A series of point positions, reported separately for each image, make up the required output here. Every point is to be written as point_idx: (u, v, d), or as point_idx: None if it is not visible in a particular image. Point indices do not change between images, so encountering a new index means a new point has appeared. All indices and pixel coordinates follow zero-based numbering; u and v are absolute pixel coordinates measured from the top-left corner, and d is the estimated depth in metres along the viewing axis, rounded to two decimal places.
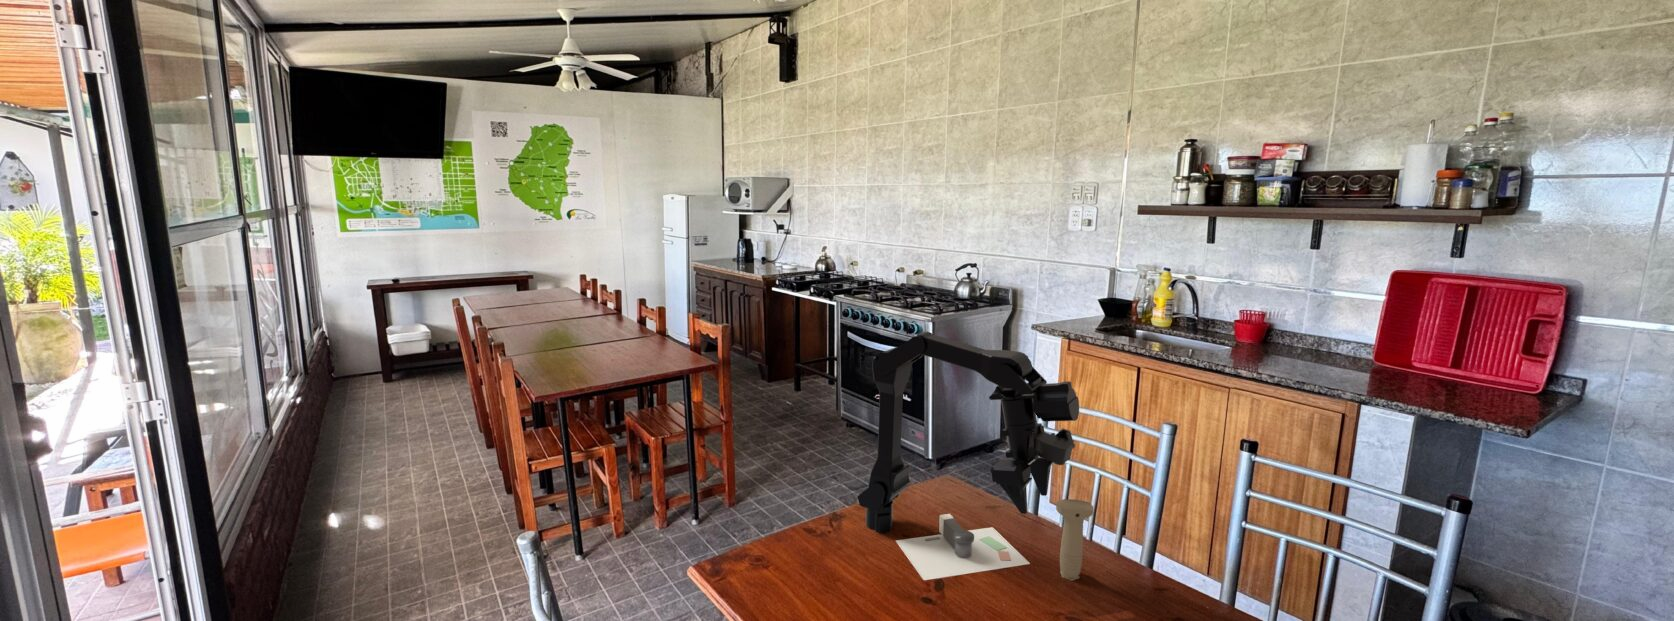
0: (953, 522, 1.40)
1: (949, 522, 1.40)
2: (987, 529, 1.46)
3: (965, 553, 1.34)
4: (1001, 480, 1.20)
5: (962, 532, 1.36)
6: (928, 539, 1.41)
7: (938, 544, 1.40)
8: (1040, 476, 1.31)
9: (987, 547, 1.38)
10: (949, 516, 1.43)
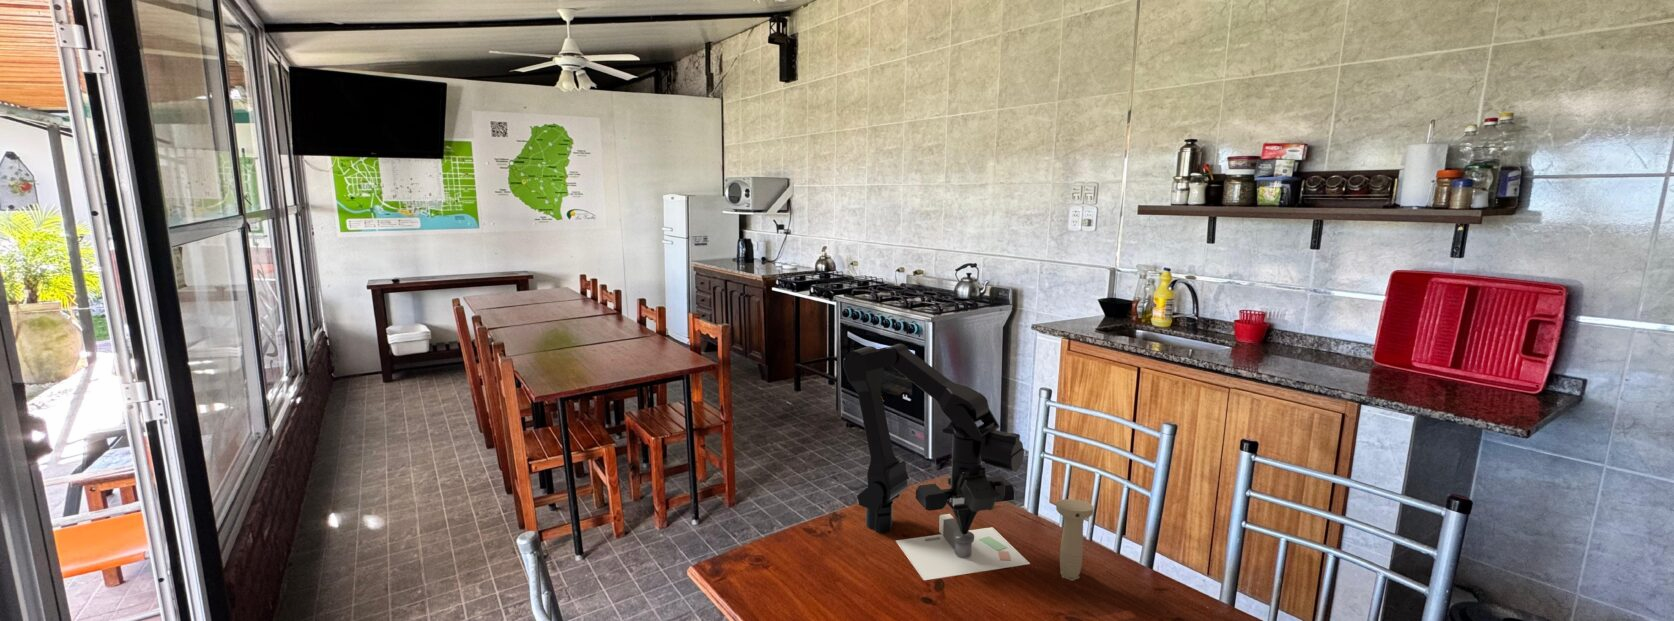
0: (953, 522, 1.40)
1: (949, 522, 1.40)
2: (987, 529, 1.46)
3: (965, 553, 1.34)
4: (919, 500, 1.32)
5: None
6: (928, 539, 1.41)
7: (938, 544, 1.40)
8: (966, 515, 1.35)
9: (987, 547, 1.38)
10: (949, 516, 1.43)
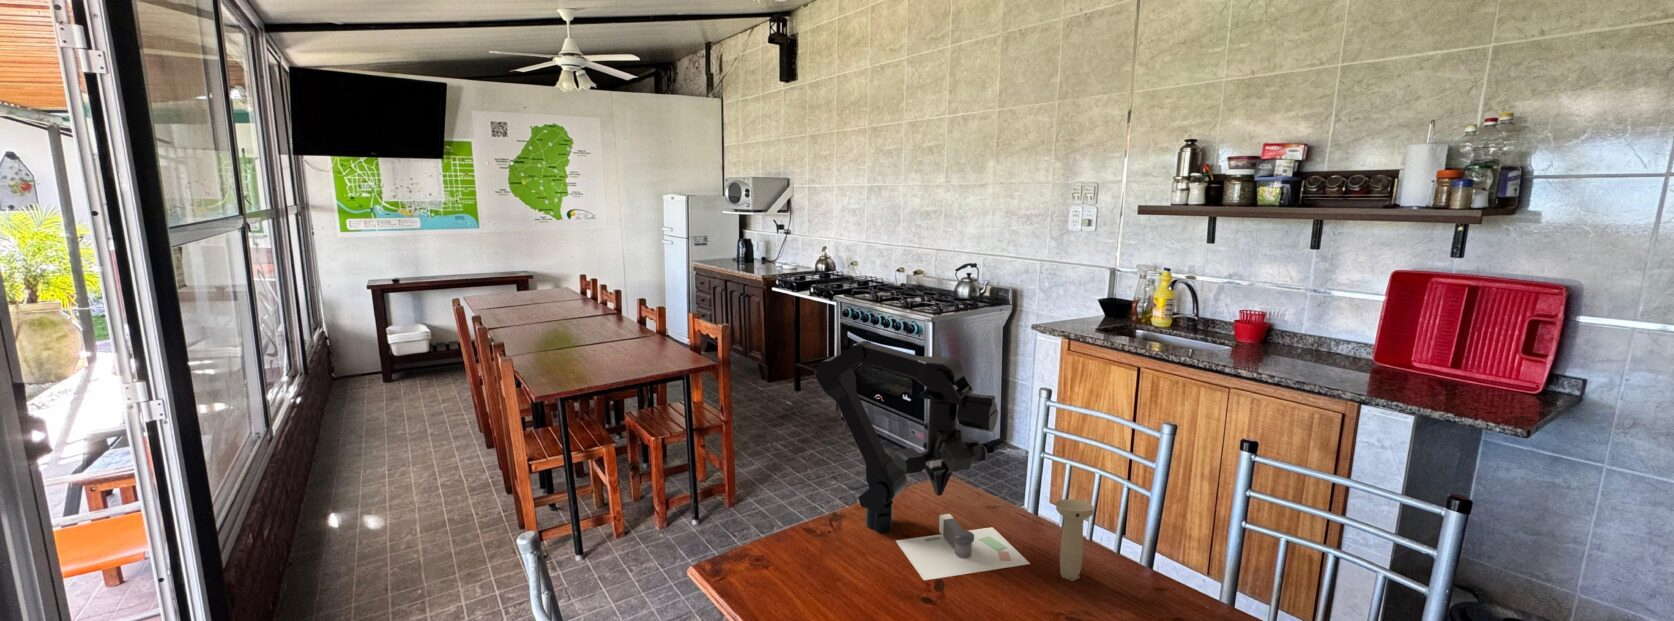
0: (953, 522, 1.40)
1: (949, 522, 1.40)
2: (987, 529, 1.46)
3: (965, 553, 1.34)
4: (898, 464, 1.35)
5: (962, 532, 1.36)
6: (928, 539, 1.41)
7: (938, 544, 1.40)
8: None
9: (987, 547, 1.38)
10: (949, 516, 1.43)
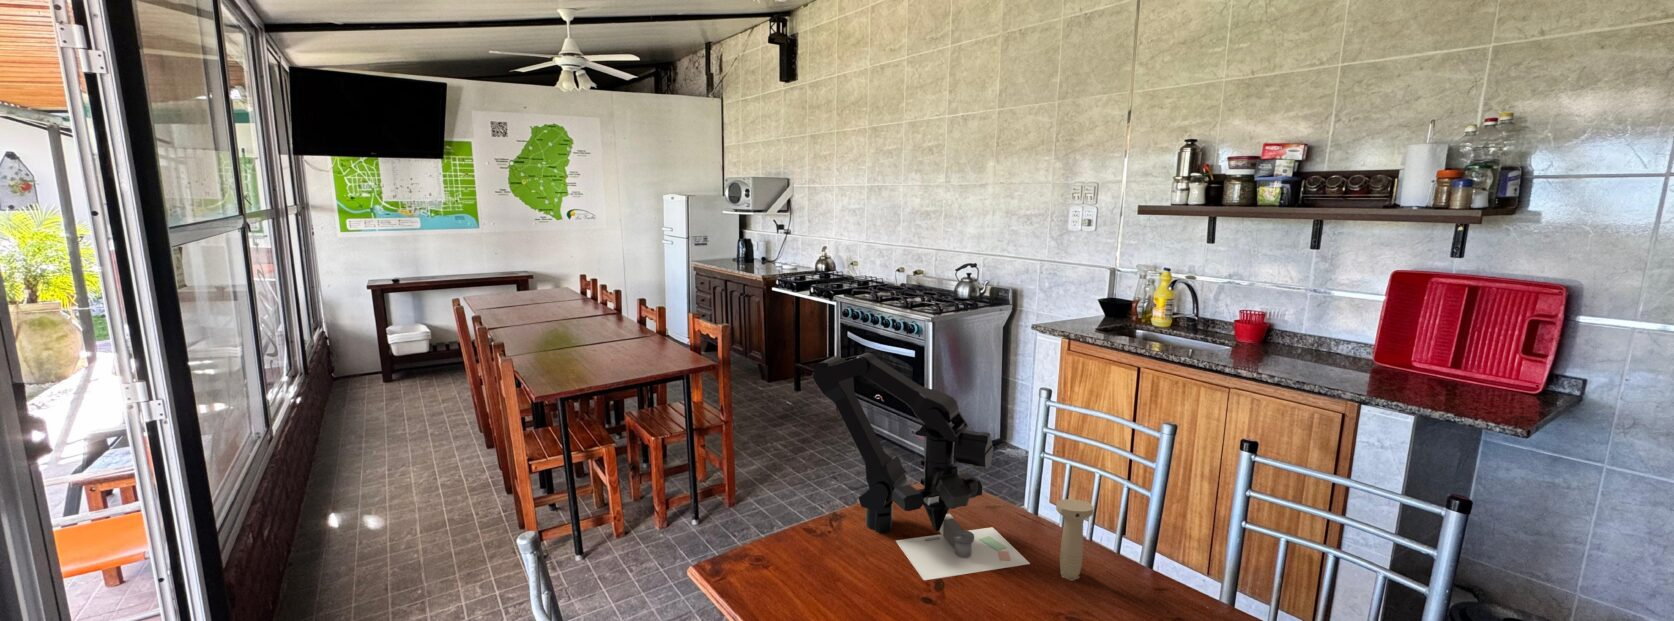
0: (953, 522, 1.40)
1: (949, 522, 1.40)
2: (987, 529, 1.46)
3: (965, 553, 1.34)
4: (896, 502, 1.37)
5: (962, 532, 1.36)
6: (928, 539, 1.41)
7: (938, 544, 1.40)
8: None
9: (987, 547, 1.38)
10: (949, 516, 1.43)
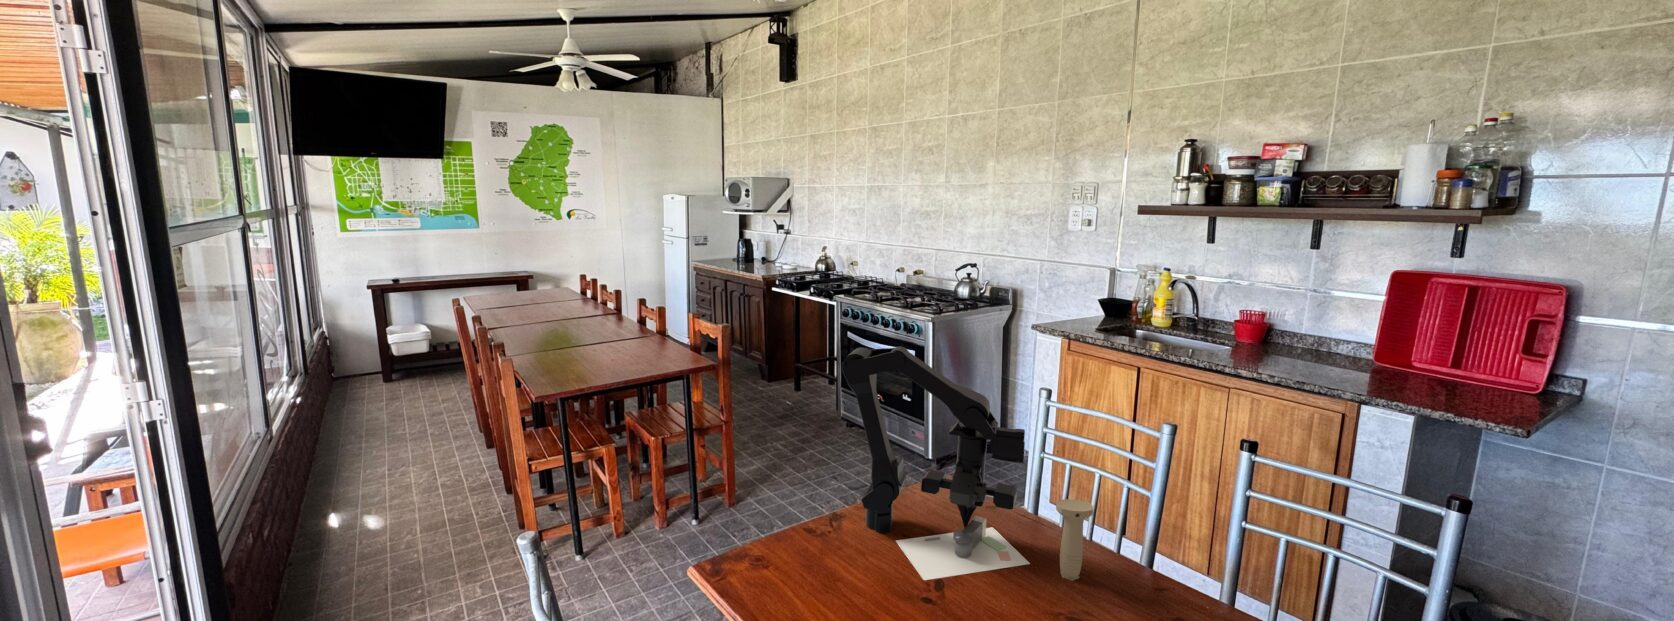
0: (976, 524, 1.39)
1: (972, 523, 1.40)
2: (987, 529, 1.46)
3: (958, 552, 1.34)
4: None
5: (968, 533, 1.36)
6: (928, 539, 1.41)
7: (938, 544, 1.40)
8: None
9: (987, 547, 1.38)
10: (982, 519, 1.41)
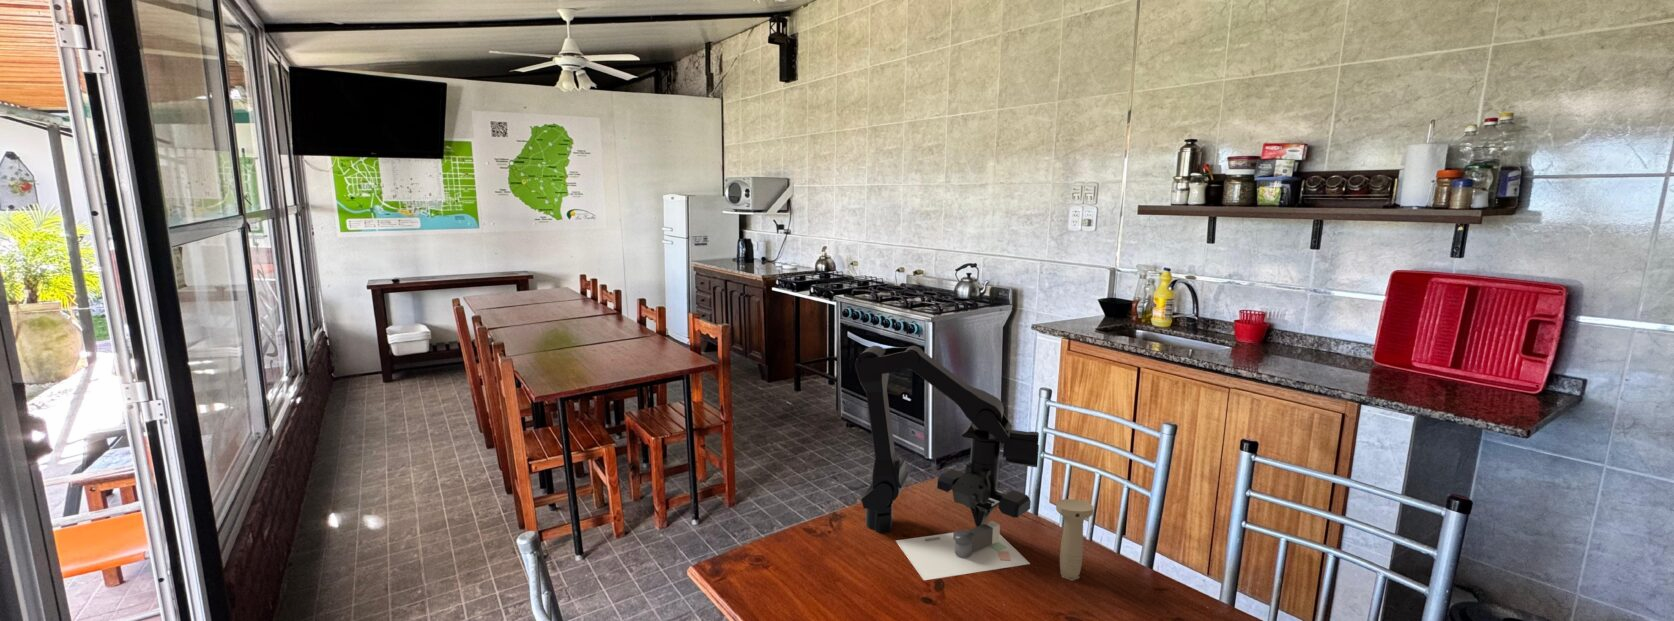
0: (984, 528, 1.38)
1: (982, 526, 1.39)
2: None
3: (956, 551, 1.35)
4: None
5: (969, 534, 1.36)
6: (928, 539, 1.41)
7: (938, 544, 1.40)
8: None
9: (987, 547, 1.38)
10: (994, 525, 1.39)
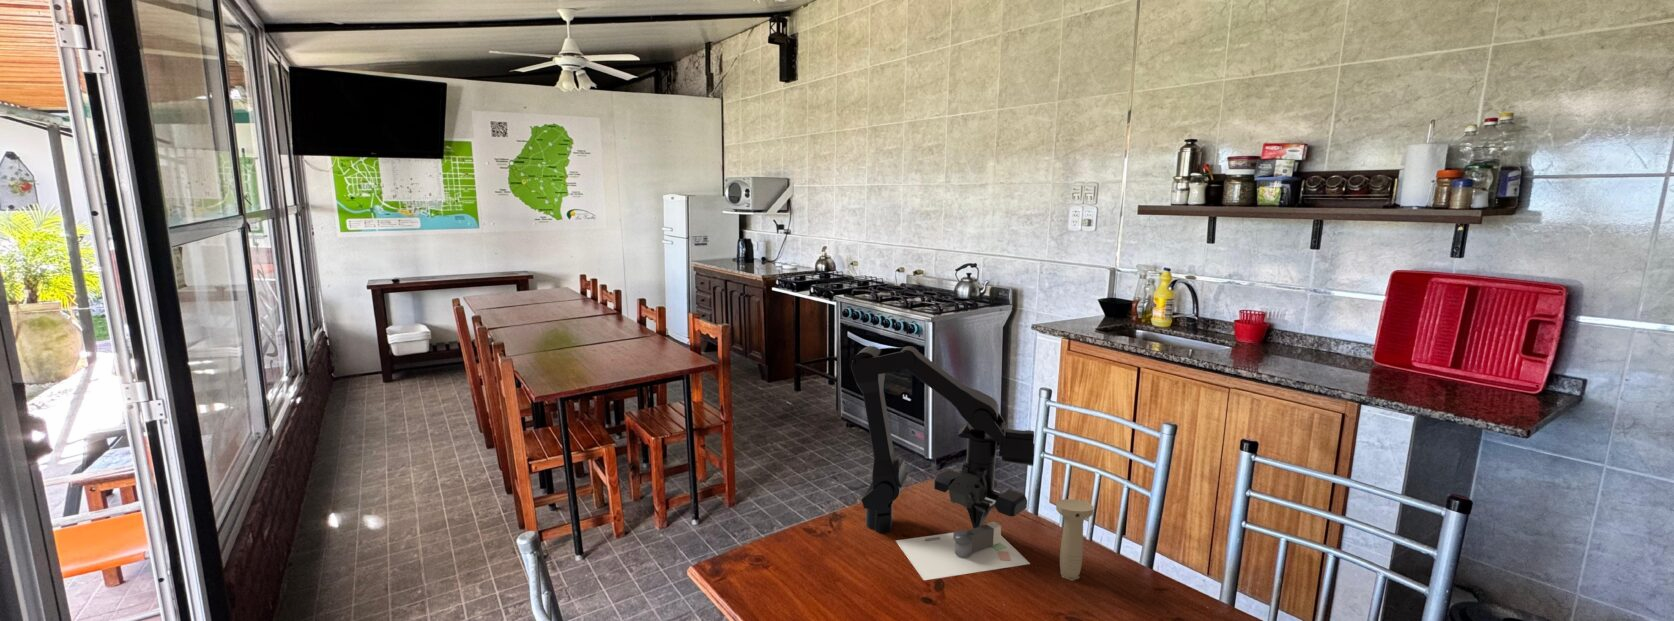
0: (985, 529, 1.38)
1: (983, 527, 1.38)
2: None
3: (956, 550, 1.35)
4: None
5: (970, 534, 1.35)
6: (928, 539, 1.41)
7: (938, 544, 1.40)
8: None
9: (987, 547, 1.38)
10: (995, 526, 1.39)
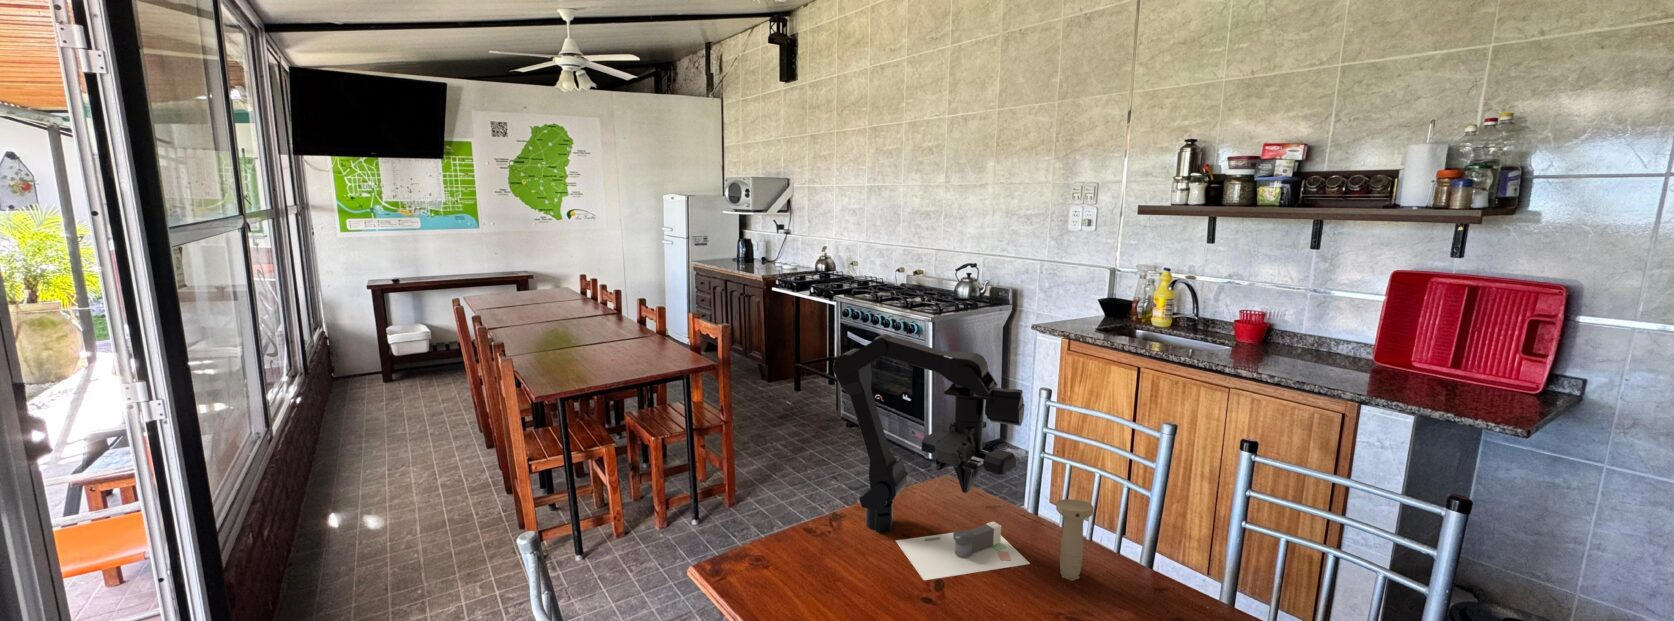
0: (985, 529, 1.38)
1: (983, 527, 1.38)
2: None
3: (956, 550, 1.35)
4: None
5: (970, 534, 1.35)
6: (928, 539, 1.41)
7: (938, 544, 1.40)
8: None
9: (987, 547, 1.38)
10: (995, 526, 1.39)
